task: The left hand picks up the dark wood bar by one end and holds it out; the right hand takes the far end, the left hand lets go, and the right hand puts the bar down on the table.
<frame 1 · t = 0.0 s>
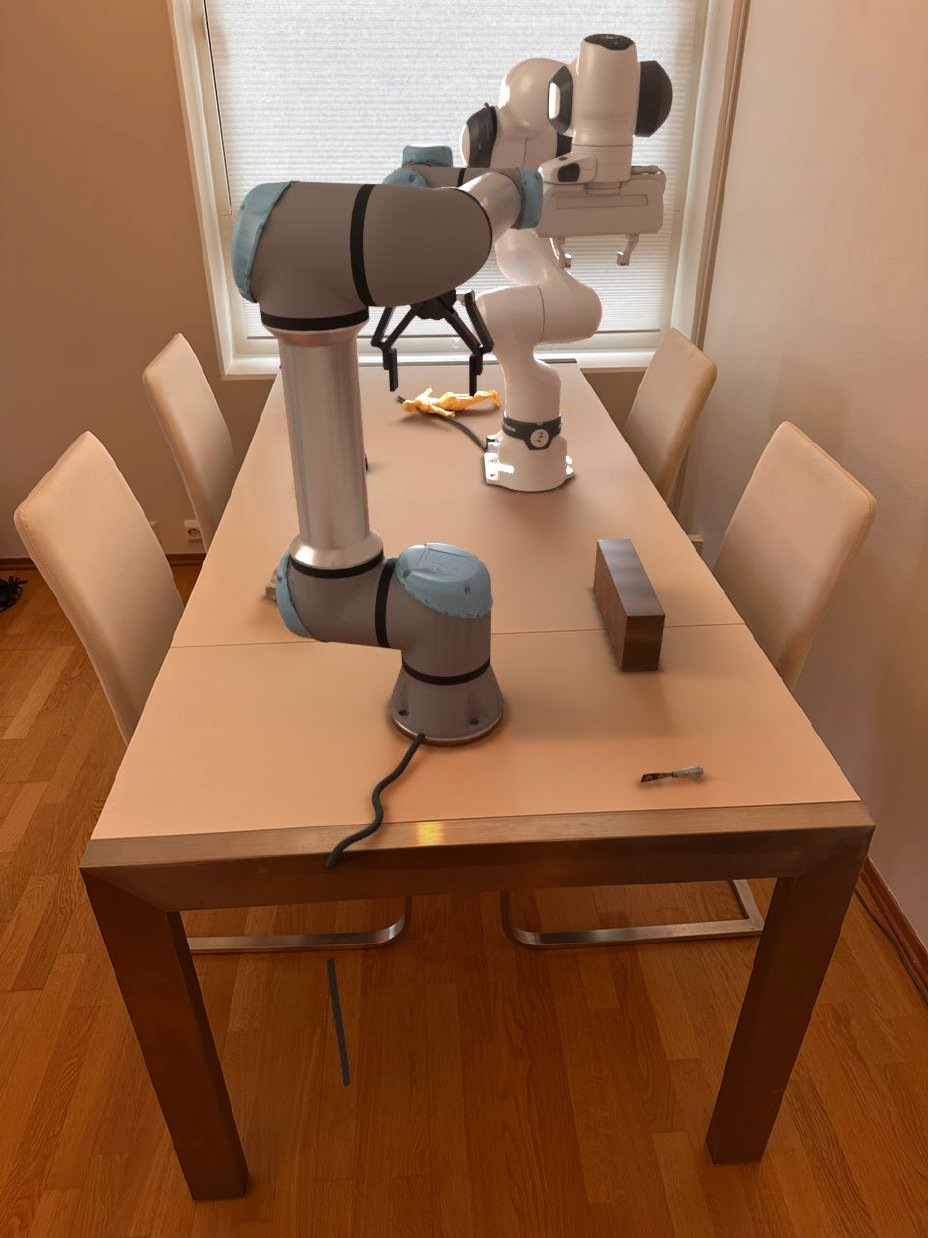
left hand: (433, 391, 149), 28 cm above the table, tool pointing down, fingers open, 13 cm apart
right hand: (593, 266, 138), 48 cm above the table, tool pointing down, fingers open, 8 cm apart
stone: (304, 597, 147), on the table
human figure: (450, 410, 226), on the table
bar: (623, 626, 139), on the table
putty knife: (671, 781, 109), on the table
handgun: (343, 481, 188), on the table
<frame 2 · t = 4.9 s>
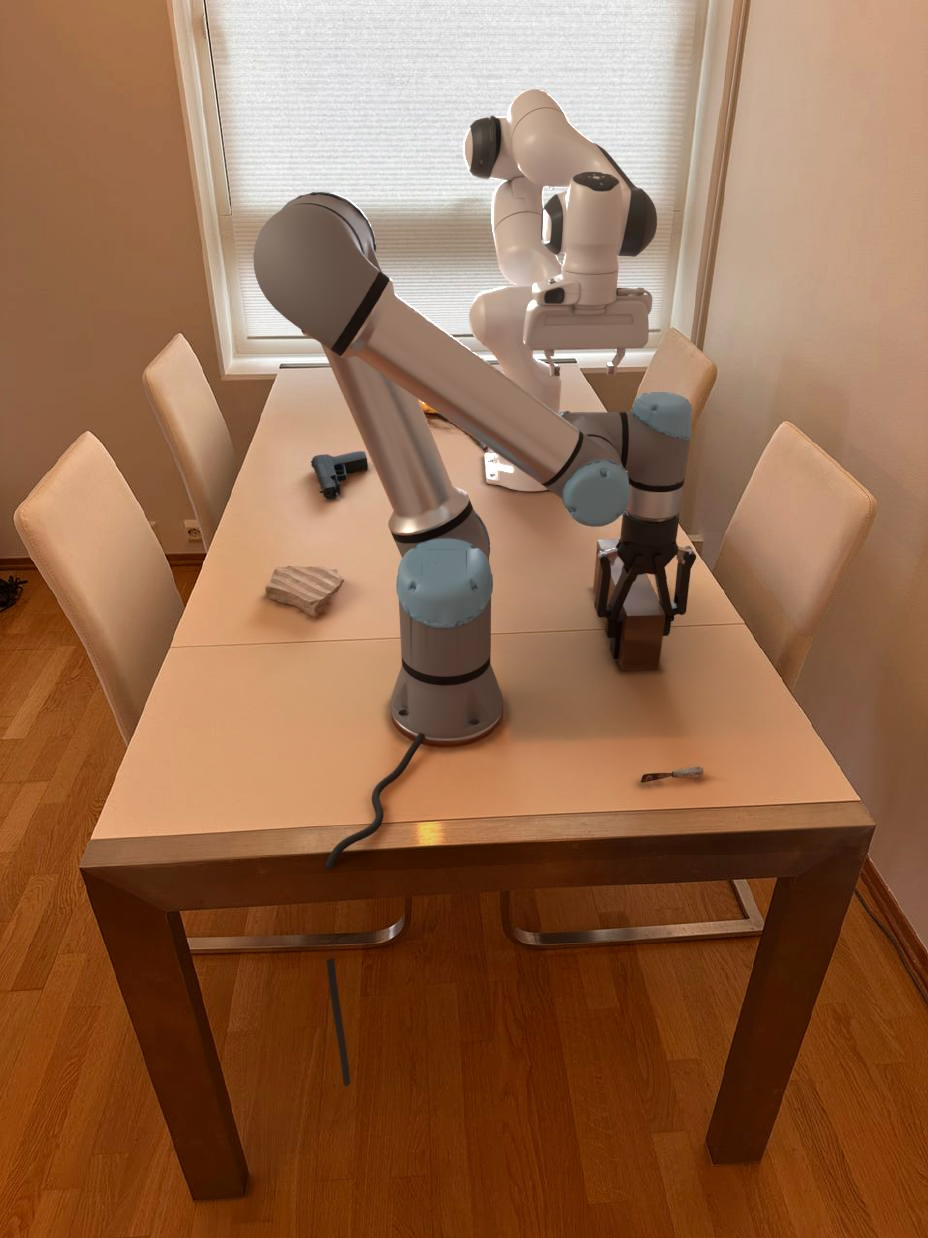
left hand: (634, 653, 132), 1 cm above the table, tool pointing down, fingers closed on bar, 5 cm apart
right hand: (582, 375, 148), 31 cm above the table, tool pointing down, fingers open, 8 cm apart
bar: (623, 626, 139), on the table, touching left hand
everything else where it was.
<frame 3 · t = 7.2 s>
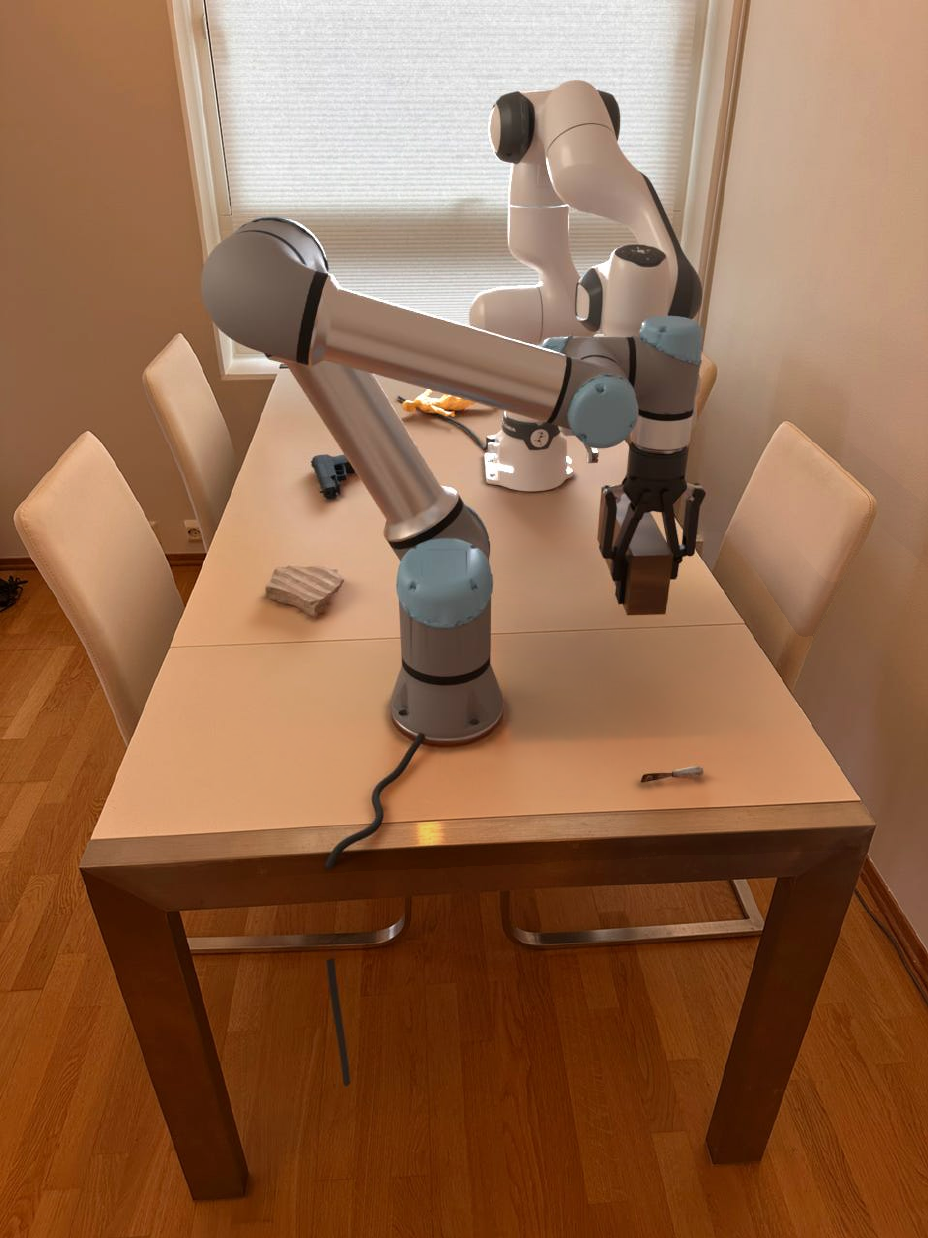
left hand: (640, 598, 127), 10 cm above the table, tool pointing down, fingers closed on bar, 5 cm apart
right hand: (623, 461, 135), 24 cm above the table, tool pointing down, fingers open, 8 cm apart
bar: (628, 574, 134), point 9 cm above the table, touching left hand
everything else where it was.
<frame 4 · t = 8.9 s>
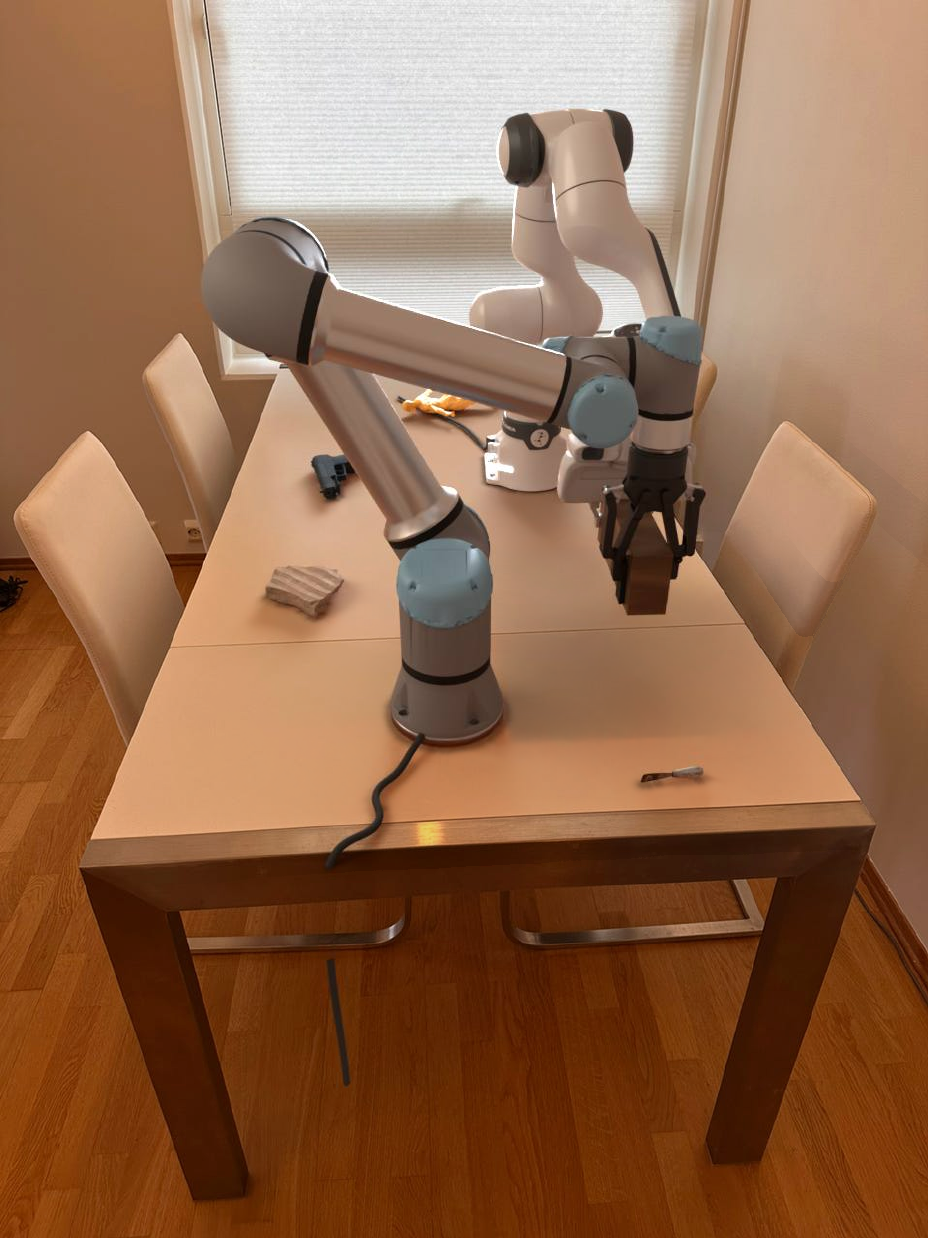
left hand: (641, 598, 127), 10 cm above the table, tool pointing down, fingers closed on bar, 5 cm apart
right hand: (620, 525, 139), 14 cm above the table, tool pointing down, fingers closed on bar, 5 cm apart
bar: (629, 574, 134), point 9 cm above the table, touching left hand, right hand
everything else where it was.
when the left hand's fingers open (10 cm above the table, at t = 9.8 s): bar stays where it is, held by the right hand.
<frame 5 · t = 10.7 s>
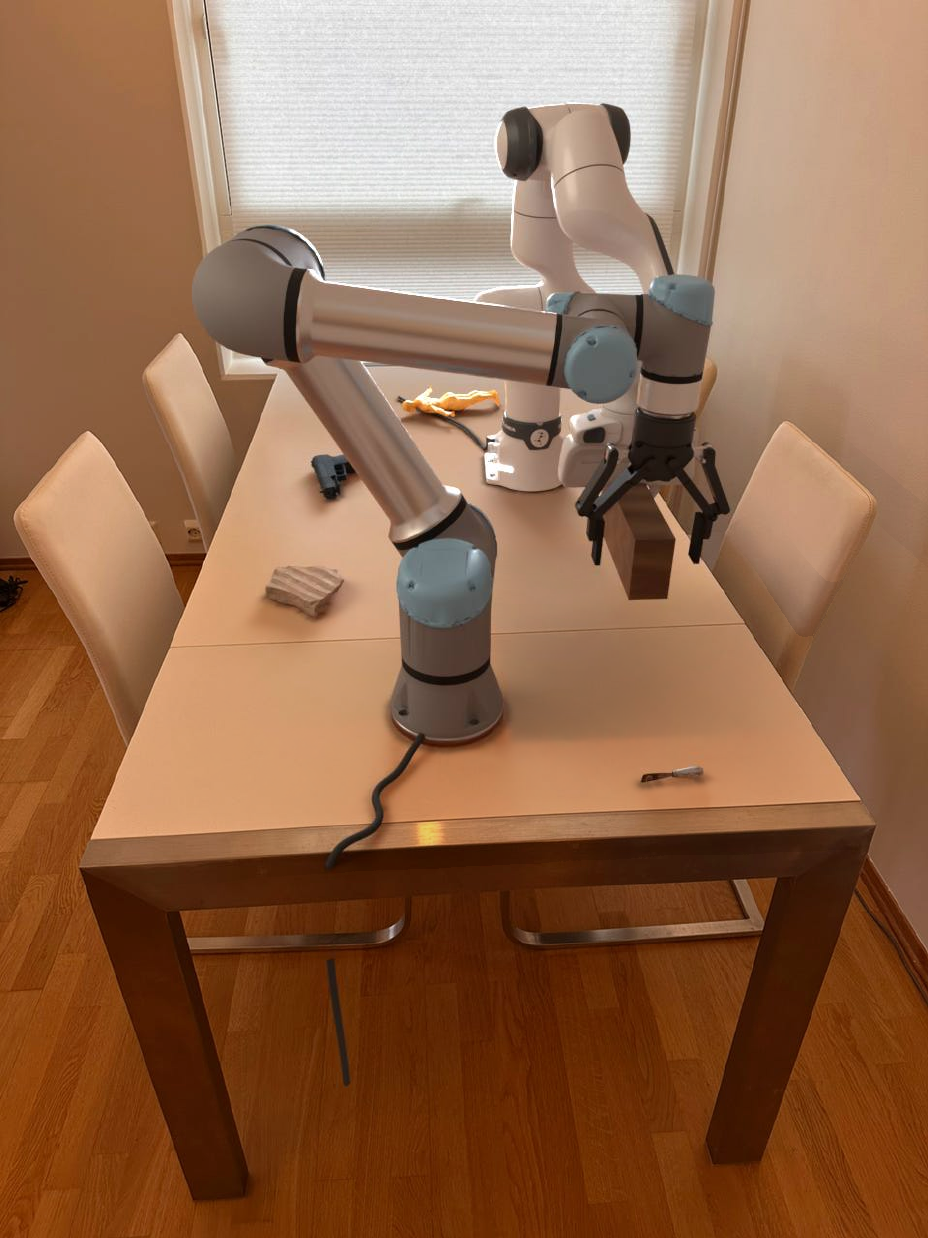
left hand: (644, 560, 122), 17 cm above the table, tool pointing down, fingers open, 13 cm apart
right hand: (621, 510, 138), 16 cm above the table, tool pointing down, fingers closed on bar, 5 cm apart
bar: (630, 559, 133), point 12 cm above the table, touching right hand
everything else where it was.
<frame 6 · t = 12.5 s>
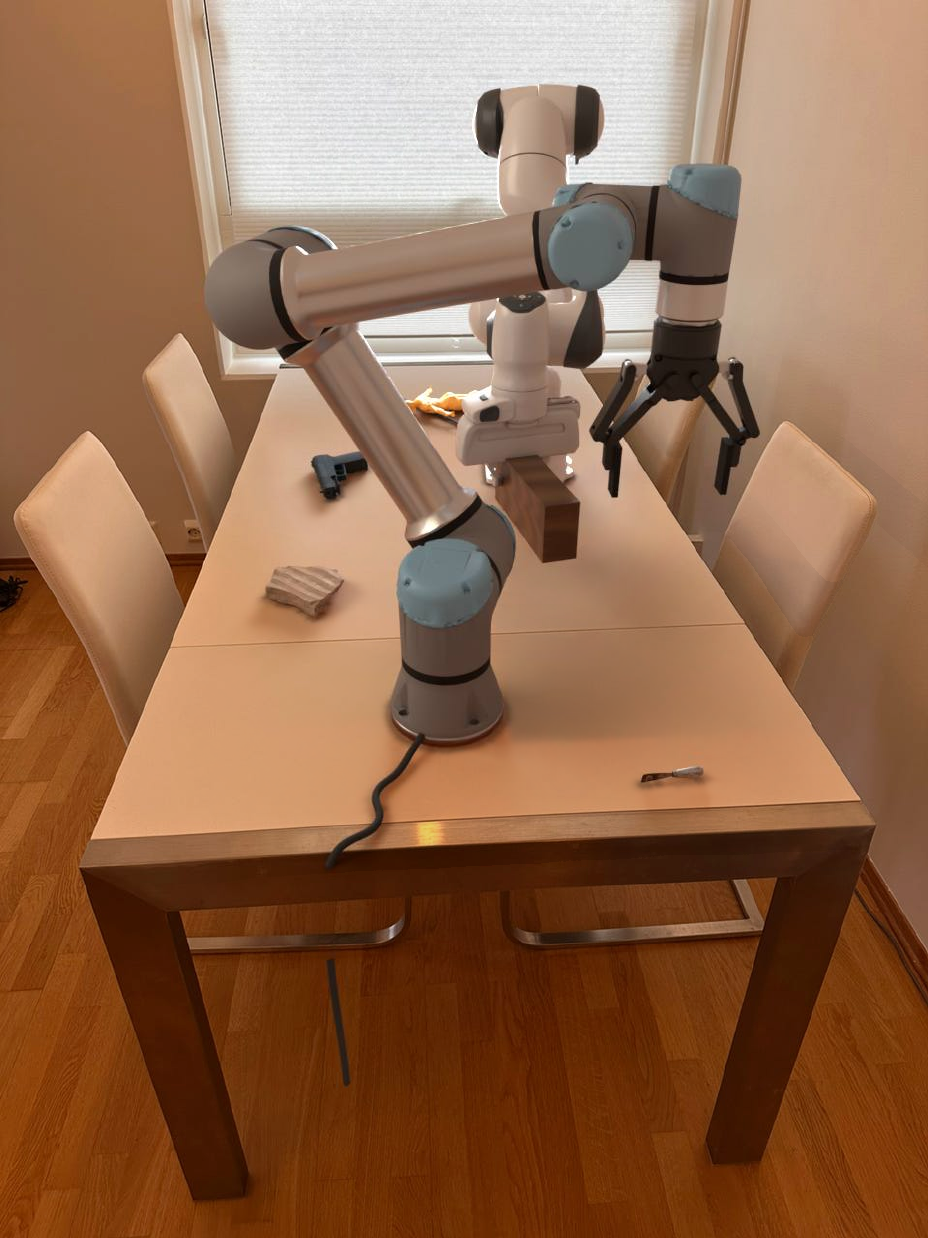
left hand: (666, 492, 112), 29 cm above the table, tool pointing down, fingers open, 13 cm apart
right hand: (516, 482, 147), 16 cm above the table, tool pointing down, fingers closed on bar, 5 cm apart
bar: (533, 526, 143), point 12 cm above the table, touching right hand
everything else where it was.
when the right hand's fingers open (6 cm above the table, at t = 16.2 s): bar drops 1 cm, on the table.
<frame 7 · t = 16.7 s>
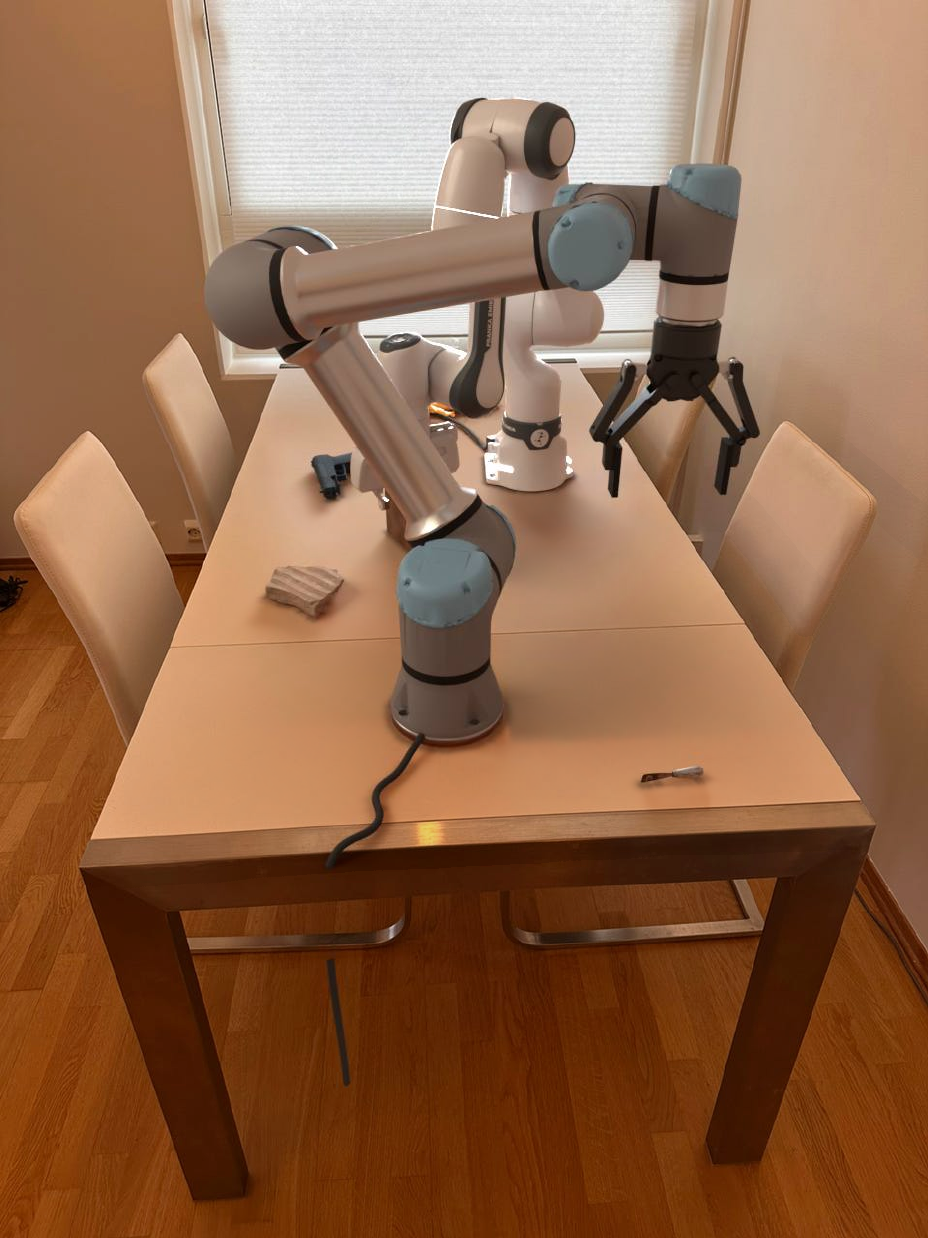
left hand: (666, 492, 112), 29 cm above the table, tool pointing down, fingers open, 13 cm apart
right hand: (407, 503, 163), 7 cm above the table, tool pointing down, fingers open, 8 cm apart
bar: (428, 553, 160), on the table
everything else where it was.
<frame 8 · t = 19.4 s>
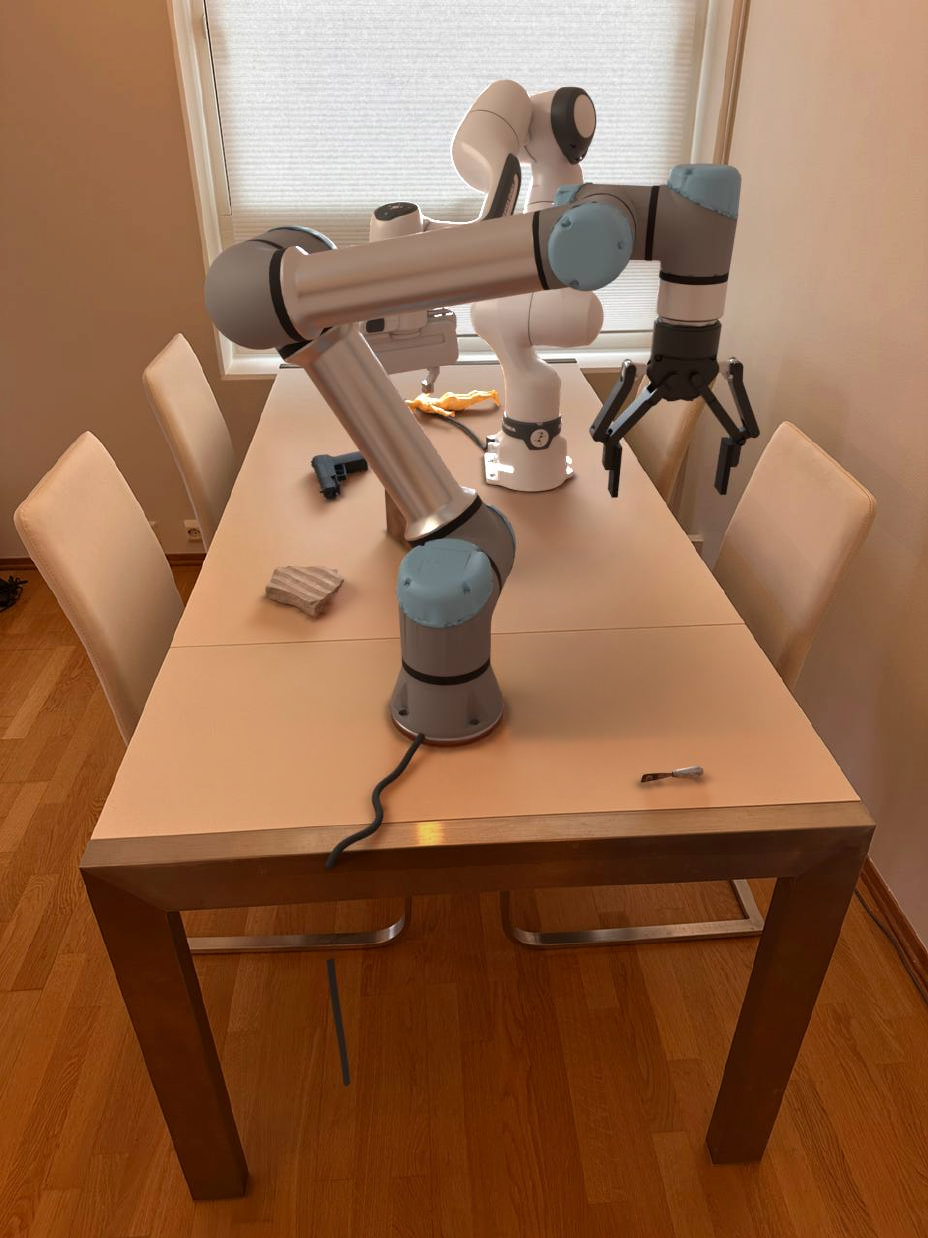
left hand: (666, 492, 112), 29 cm above the table, tool pointing down, fingers open, 13 cm apart
right hand: (403, 397, 152), 26 cm above the table, tool pointing down, fingers open, 8 cm apart
nothing on the table moved.
at the end: bar inside the target area (7.6 cm from its centre), on the table; the left hand is holding nothing; the right hand is holding nothing; bar at rest at the end (0.0 cm/s) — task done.
